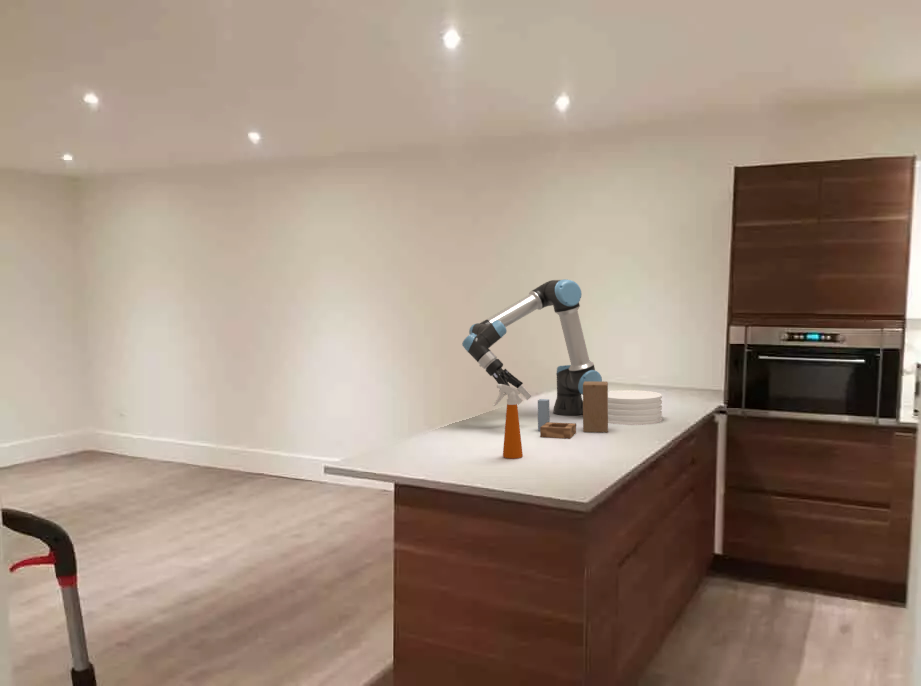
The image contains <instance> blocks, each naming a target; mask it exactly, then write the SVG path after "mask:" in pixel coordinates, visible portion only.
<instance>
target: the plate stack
mask: <svg viewBox="0 0 921 686" xmlns="http://www.w3.org/2000/svg"><path fill="white" fill-rule="evenodd" d="M662 397H663V395H662V393H660V392H655V391H651V390H650V391H648V390H637V389H636V390H634V389H633V390H630V389H628V390H626V389H625V390H624V389H623V390H619V389H617V390H608V424H613V425H625V426H629V425H630V426H639V425H640V426H641V425H642V426H643V425H652V424H657V423H660V422H662V421H663V418H662V415H663V411H662V409H663V406H662V404H663V400H662V399H663V398H662Z"/></svg>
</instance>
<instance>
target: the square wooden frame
mask: <svg viewBox="0 0 921 686" xmlns="http://www.w3.org/2000/svg"><path fill="white" fill-rule="evenodd" d="M539 432H540V438H547V439H548V438H551V439H566V438H568V439H569V440H571V438H573V437H574V434H575V435H576V434H577V423H575V422H574V423H571V422H551V421H550V422H547V423H546V424H544V425H543V426H541V427H540V431H539Z"/></svg>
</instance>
